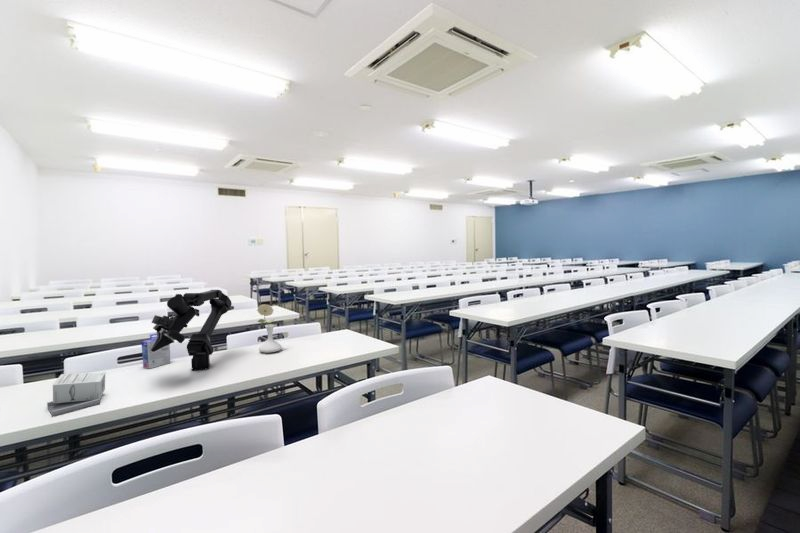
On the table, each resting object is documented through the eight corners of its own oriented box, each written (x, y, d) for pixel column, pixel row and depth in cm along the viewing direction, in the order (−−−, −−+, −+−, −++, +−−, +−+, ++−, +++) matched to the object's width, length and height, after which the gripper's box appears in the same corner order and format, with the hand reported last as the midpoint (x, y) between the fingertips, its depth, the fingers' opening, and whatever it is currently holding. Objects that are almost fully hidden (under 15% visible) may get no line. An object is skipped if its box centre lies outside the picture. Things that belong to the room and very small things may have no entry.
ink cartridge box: (164, 361, 169) (163, 331, 168) (171, 362, 166) (170, 332, 166) (141, 367, 160) (140, 336, 159) (148, 369, 158) (147, 337, 157)
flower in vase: (286, 349, 189) (285, 303, 187) (273, 355, 178) (272, 306, 176) (264, 347, 192) (263, 302, 190) (251, 353, 181) (250, 305, 179)
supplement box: (99, 400, 125) (52, 404, 119) (105, 388, 132) (60, 392, 126) (100, 381, 124) (51, 385, 118) (105, 370, 130) (60, 373, 124)
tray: (93, 395, 130) (92, 391, 130) (100, 403, 123) (100, 399, 123) (47, 407, 120) (47, 402, 120) (52, 416, 113) (52, 411, 113)
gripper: (157, 305, 148) (126, 336, 140) (174, 310, 137) (141, 344, 129) (179, 320, 155) (150, 350, 147) (197, 326, 143) (167, 359, 135)
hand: (152, 351), depth 139 cm, fingers closed
